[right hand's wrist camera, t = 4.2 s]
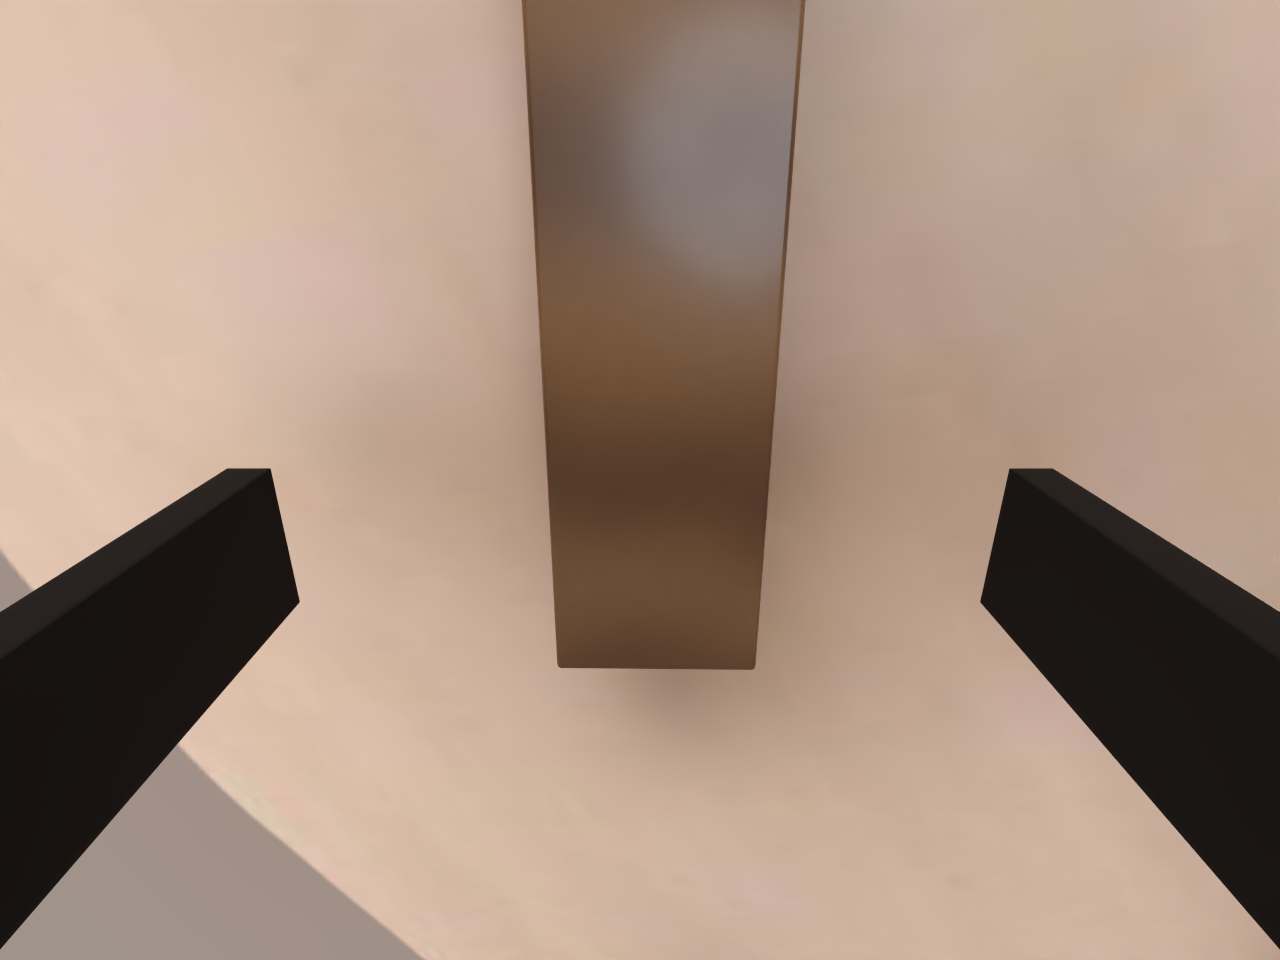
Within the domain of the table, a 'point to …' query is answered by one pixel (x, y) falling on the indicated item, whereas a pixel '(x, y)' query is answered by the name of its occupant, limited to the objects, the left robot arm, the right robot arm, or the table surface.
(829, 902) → the table surface
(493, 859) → the table surface
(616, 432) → the post
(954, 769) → the table surface
